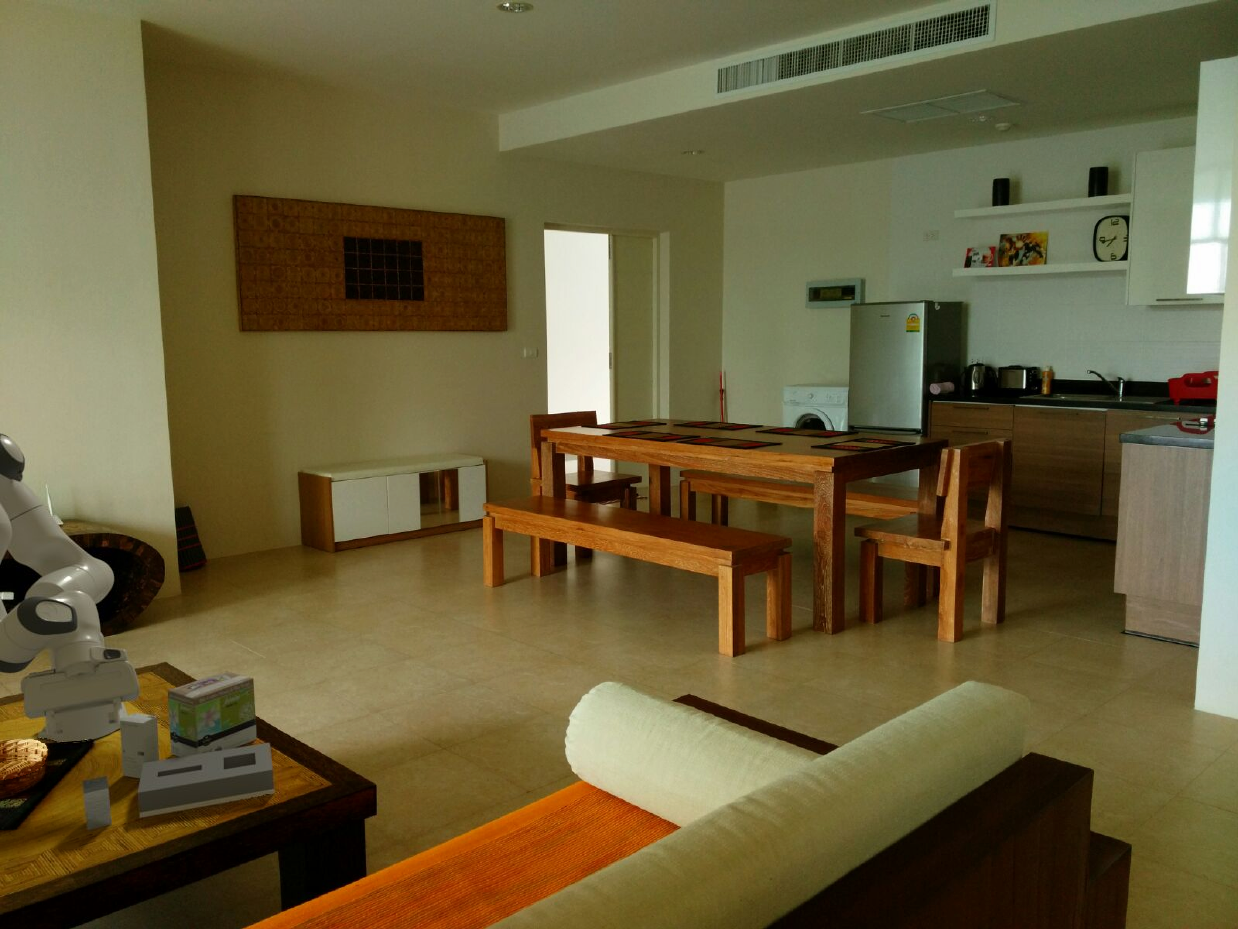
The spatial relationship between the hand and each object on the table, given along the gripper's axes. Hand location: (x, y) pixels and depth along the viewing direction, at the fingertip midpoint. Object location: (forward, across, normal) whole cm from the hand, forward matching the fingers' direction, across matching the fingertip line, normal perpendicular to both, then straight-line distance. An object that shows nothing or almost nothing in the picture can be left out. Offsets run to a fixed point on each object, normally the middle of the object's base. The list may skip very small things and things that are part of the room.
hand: (86, 727), depth 192 cm
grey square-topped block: (+19, 0, +2) cm, 19 cm away
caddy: (+17, +20, +4) cm, 26 cm away
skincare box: (+6, +9, +15) cm, 19 cm away
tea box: (+2, +24, +19) cm, 31 cm away
